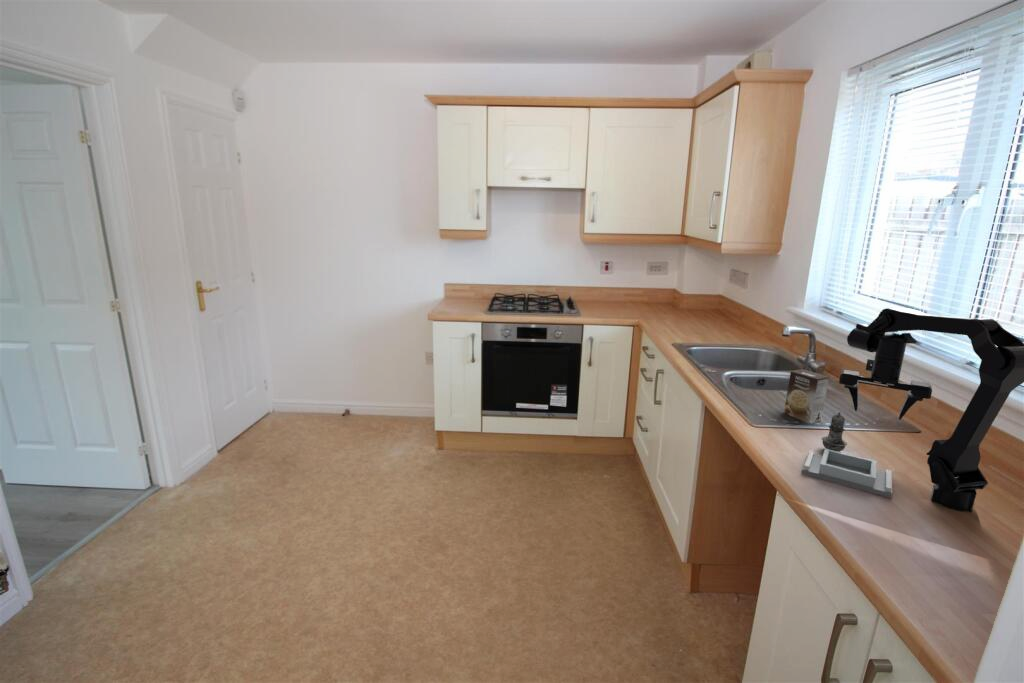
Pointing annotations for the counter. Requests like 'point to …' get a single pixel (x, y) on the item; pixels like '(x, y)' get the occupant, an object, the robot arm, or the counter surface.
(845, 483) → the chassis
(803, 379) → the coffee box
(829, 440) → the grey stone chess piece
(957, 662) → the counter surface
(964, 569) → the counter surface
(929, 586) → the counter surface
